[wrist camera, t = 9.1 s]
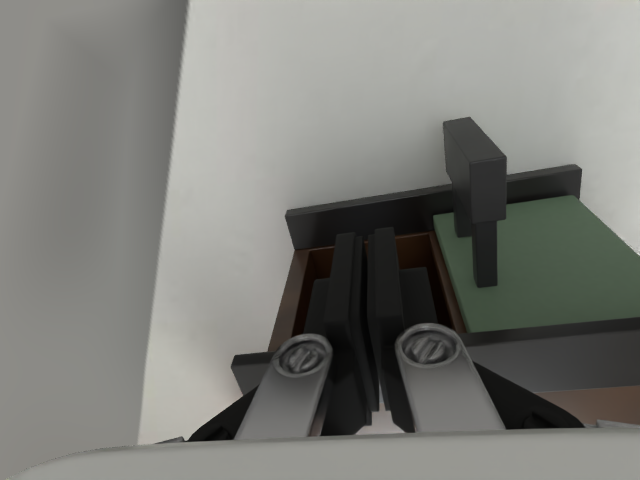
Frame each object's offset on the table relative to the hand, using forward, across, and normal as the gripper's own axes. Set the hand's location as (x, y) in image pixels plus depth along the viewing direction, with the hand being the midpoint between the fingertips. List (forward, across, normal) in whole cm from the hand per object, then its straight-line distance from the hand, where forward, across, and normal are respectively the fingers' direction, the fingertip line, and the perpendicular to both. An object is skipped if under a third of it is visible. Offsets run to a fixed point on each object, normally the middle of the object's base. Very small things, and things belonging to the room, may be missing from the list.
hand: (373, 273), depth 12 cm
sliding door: (+11, -6, +1) cm, 13 cm away
